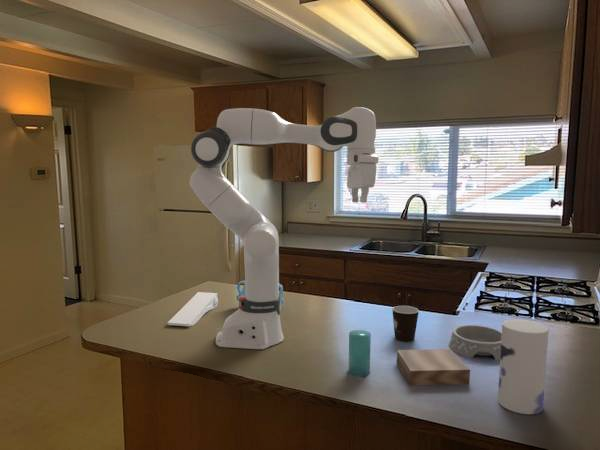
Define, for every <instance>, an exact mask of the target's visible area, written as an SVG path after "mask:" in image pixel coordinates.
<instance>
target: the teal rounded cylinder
mask: <svg viewBox="0 0 600 450" xmlns="http://www.w3.org/2000/svg"><path fill="white" fill-rule="evenodd" d="M371 337H372V334H371V332H370V331H368V330H362V329H356V330H355V329H354V330H350V331H349V333H348V373H349V374H350V375H352V376H356V377H365V376H368V375H369V374H371V346H372V345H371V341H372V339H371Z"/></svg>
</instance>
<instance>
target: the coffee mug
mask: <svg viewBox="0 0 600 450" xmlns="http://www.w3.org/2000/svg"><path fill="white" fill-rule="evenodd" d="M391 311H392V320H393V331H394V332H393V333H394V339H395V340H396V341H399V342H403V343H404V342H405V343H410V342H414V340H415V338H416V337H415V336H416V331H417V323H418V319H419V312H420V310H419V309H418V308H417V307H414V306H411V305H397V306H393V307H392V309H391Z"/></svg>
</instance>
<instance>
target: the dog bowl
mask: <svg viewBox="0 0 600 450" xmlns="http://www.w3.org/2000/svg"><path fill="white" fill-rule="evenodd" d="M501 337H502V330H499V329H496V328H494V327H490V326H484V325H479V324H478V325H476V324H463V325H460V326H457V327H455V328H454V329H453V330H452V333H451V337H450V340H449V343H448V347H449V349H451V350H452V351H453V352H454V353H455V354H458V355H460V356H463V357H467V358H469V359H473V358H474V356H484V357H485V356H486V357H490V356H493V358H494V360H495V361H500V354H501Z"/></svg>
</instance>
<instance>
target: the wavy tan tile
mask: <svg viewBox="0 0 600 450" xmlns="http://www.w3.org/2000/svg"><path fill="white" fill-rule="evenodd" d="M396 364H397V366H398V368H399V369H400V370H401V373H402V374H403V376H404V377H405V379H406V381H407V382H408V384H409V386H435V385H437V386H438V385H439V386H441V385H442V386H443V385H444V386H445V385H470V381H471V378H470V377H471V369H470V368H469V366H467V365H466V364H465V363H464V362H463V360H462V359H461V358H460V357H459V356H458V355H457V353H456V352H454V351H452V350H451V349H450V348H449V349H448V348H443V349H442V348H441V349H439V348H438V349H437V348H436V349H435V348H434V349H397V350H396Z"/></svg>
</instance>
